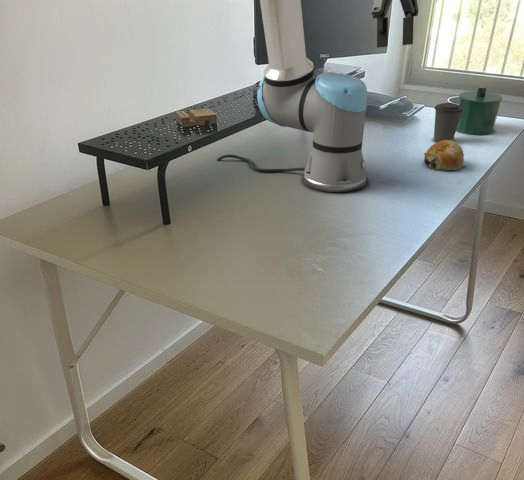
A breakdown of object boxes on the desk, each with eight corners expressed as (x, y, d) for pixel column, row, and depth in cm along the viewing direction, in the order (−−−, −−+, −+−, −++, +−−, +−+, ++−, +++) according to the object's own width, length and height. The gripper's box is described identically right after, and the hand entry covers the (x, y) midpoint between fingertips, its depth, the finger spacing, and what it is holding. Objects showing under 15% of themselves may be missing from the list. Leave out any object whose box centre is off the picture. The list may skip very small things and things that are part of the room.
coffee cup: (423, 138, 163) (429, 102, 157) (447, 135, 165) (454, 99, 159) (438, 146, 157) (445, 109, 151) (463, 143, 159) (470, 106, 153)
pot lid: (453, 102, 163) (455, 88, 161) (465, 93, 172) (467, 80, 169) (495, 107, 158) (498, 94, 156) (505, 98, 166) (509, 85, 164)
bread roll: (457, 185, 143) (477, 157, 139) (424, 168, 141) (443, 139, 136) (447, 171, 151) (466, 145, 147) (416, 155, 149) (434, 127, 144)
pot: (449, 131, 169) (455, 99, 163) (460, 122, 176) (466, 91, 171) (487, 137, 164) (495, 104, 158) (497, 127, 171) (504, 96, 166)
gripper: (407, -46, 148) (405, 45, 158) (357, -52, 132) (357, 49, 142) (434, -51, 144) (429, 42, 153) (385, -58, 128) (383, 46, 137)
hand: (395, 46), depth 148 cm, fingers open, 13 cm apart
